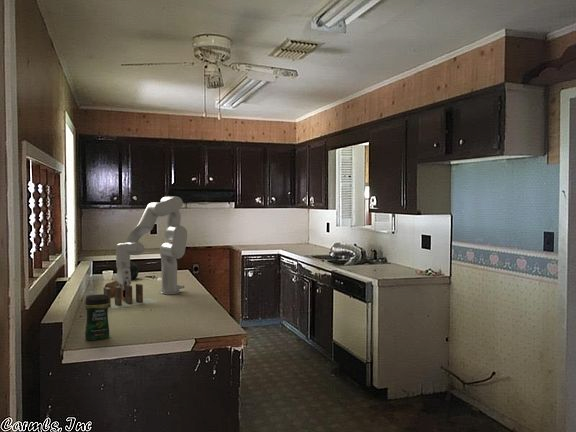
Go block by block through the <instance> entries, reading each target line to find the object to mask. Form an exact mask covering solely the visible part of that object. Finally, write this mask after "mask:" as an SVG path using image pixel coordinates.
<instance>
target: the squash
mask: <svg viewBox="0 0 576 432" xmlns="http://www.w3.org/2000/svg"><path fill="white" fill-rule="evenodd" d="M117 269H118V268H116V270H117ZM130 272H131V281H132V280H135V279H137V277H138V276H139V267H138V265H137V264H136V263H135V262H134V261H132V260H130Z"/></svg>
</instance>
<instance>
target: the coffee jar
mask: <svg viewBox="0 0 576 432" xmlns="http://www.w3.org/2000/svg"><path fill="white" fill-rule="evenodd" d="M84 302H85V303H84V307H85V309H86V322H85V323H86V324H85V331H84V337H85V340H87V341H98V340H99V341H100V340H105V339H107V338H109V337H110V326H109V325H110V324H109V309H108V307H109V298H108V295H107V294H104V293H103V294H102V293H100V294H91V295H86V297H85V301H84Z"/></svg>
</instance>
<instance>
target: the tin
mask: <svg viewBox="0 0 576 432" xmlns="http://www.w3.org/2000/svg"><path fill="white" fill-rule="evenodd" d="M115 286H119V283H118V282H117V280H112V281H109V282H107V283H106V284H105V285H104V287H103V289H104V288H105V287H108V288H110V289H111V297H115Z"/></svg>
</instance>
